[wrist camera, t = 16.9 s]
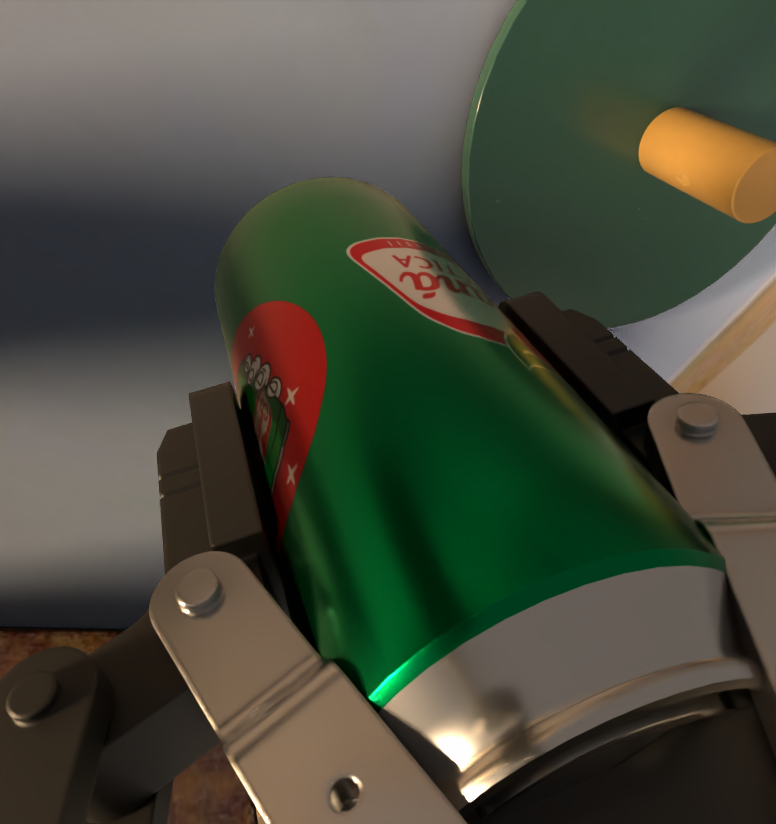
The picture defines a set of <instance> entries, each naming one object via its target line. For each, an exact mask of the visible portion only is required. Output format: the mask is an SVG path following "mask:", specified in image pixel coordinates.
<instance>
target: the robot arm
mask: <svg viewBox="0 0 776 824" xmlns="http://www.w3.org/2000/svg"><path fill="white" fill-rule="evenodd" d="M498 308H499V309H500V310H501V311H502V312H503V313H504V314H505V315H506V316H507V317H508V318H509V320H510V321H511V322H512V323H513V324H514V325H515V326H516V327H517V328H518V329H519V330H520V331H521V333H522V334H523V335H524V336H525V337H526V338H527V339H528V340H529V341H530V342H531V343H532V344H533V346H534V347H535V348H536V349H537V350H538V351H539V352H540V353H541V354H542V355H543V356H544V357H545V359H546V360H547V361H548V362H549V363H550V364H551V365H552V366H553V367H554V368H555V369H556V370H557V372H558V373H559V374H560V375H561V376H562V377H563V378H564V379H565V380H566V381H567V382H568V383H569V385H570V386H571V387H572V388H573V389H574V390H575V391H576V392H577V393H578V394H579V395H580V396H581V398H582V399H583V400H584V401H585V402H586V403H587V404H588V405H589V406H590V407H591V408H592V409H593V411H594V412H595V413H596V414H597V415H598V416H599V417H600V418H601V419H602V420H603V421H604V422H605V424H606V425H607V426H608V427H609V428H610V429H611V430H612V431H613V432H614V433H615V434H616V435H617V437H618V438H619V439H620V440H621V441H622V442H623V443H624V444H625V445H626V446H627V447H628V448H629V450H630V451H631V452H632V453H633V454H634V455H635V456H636V457H637V458H638V459H639V460H640V462H641V463H642V464H643V465H644V466H645V467H646V468H647V469H648V470H649V471H650V472H651V473H652V475H653V476H654V477H655V478H656V479H657V480H658V481H659V482H660V483H661V484H662V485H663V486H664V488H665V489H666V490H667V491H668V492H669V493H670V494H671V495H672V496H673V497H674V498H675V499H676V501H677V502H678V503H679V504H680V505H681V506H682V507H683V508H684V509H685V510H686V511H687V512H688V514H689V515H690V516H691V517H692V518H693V519H694V520H695V522H696V523H697V525H698V526H699V527H700V528H701V529H702V531H703V532H704V533H705V534H706V535H707V537H708V538H709V539H710V540H711V541H712V543H713V544H714V546H715V547H716V549H717V550H718V551H719V552H720V553H721V554H722V555H723V556H724V557H725V559H726V567H725V571H726V575H727V580H728V584H729V589H730V593H731V598H732V602H733V607H734V611H735V616H736V620H737V624H738V628H739V632H740V636H741V640H742V644H743V648H744V651H745V653H746V655H747V656H748V657H750V658H754V659H755V661H756V662H757V663H758V664H759V666H760V667H761V670H762V672H763V675H764V678H765V679H764V685H763V688H762V689H760V690H758V691H757V690H749V689H743V690H729V692H730V696H731V698H732V700H733V702H734V704H735V706H736V707H737V709H738V711H737V713H736V715H735V716H732V717H709V718H701V719H698V720H695V721H692V722H689V723H686V724H683V725H680V726H677V727H676V728H674V729H673V730H671V731H670V732H668V733H667V734H665V735H663V736H662V737H660V738H659V739H657V740H656V741H654V742H653V743H651V744H650V745H648V746H647V747H645V748H644V749H642V750H641V751H639V752H638V753H637V754H635V755H634V756H632V757H631V758H629V759H628V760H627V761H625V762H624V763H622V764H620V765H618V766H616V767H614V768H612V769H609V770H607V771H605V772H603V773H601V774H599V775H597V776H594V777H592V778H590V779H588V780H586V781H584V782H581V783H579V784H577V785H575V786H573V787H570V788H568V789H566V790H563V791H561V792H559V793H557V794H554V795H552V796H550V797H547V798H545V799H543V800H541V801H538V802H536V803H534V804H531V805H529V806H527V807H524V808H522V809H520V810H518V811H515V812H513V813H511V814H508V815H506V816H504V817H501V818H499V819H497V820H495V821H492V822H490V823H489V822H483V821H481V820H480V818H479V817H478V815H477V813H476V812H475V810H473V811H472V812H470V813H469V814H468V815H467V816H466V817H464V818H462V816H461V815H460V814H459V813H458V811H457V810H456V809H455V808H454V807H453V805H452V804H451V803H450V802H449V801H448V799H447V798H446V797H445V796H444V794H443V793H442V792H441V791H440V790H439V788H438V787H437V786H436V785H435V783H434V782H433V781H432V780H431V779H430V777H429V776H428V775H427V774H426V772H425V771H424V770H423V769H422V768H421V766H420V765H419V764H418V763H417V761H416V760H415V759H414V758H413V757H412V755H411V754H410V753H409V752H408V751H407V749H406V748H405V747H404V746H403V744H402V743H401V742H400V741H399V740H398V738H397V737H396V736H395V735H394V733H393V732H392V731H391V730H390V729H389V727H388V726H387V725H386V724H385V722H384V721H383V720H382V719H381V718H380V716H379V715H378V714H377V713H376V711H375V710H374V709H373V708H372V707H371V705H370V704H369V703H368V702H367V701H366V699H365V698H364V697H363V696H362V694H361V693H360V692H359V691H358V690H357V688H356V687H355V686H354V685H353V683H352V682H351V681H350V680H349V679H348V677H347V676H346V675H345V674H344V673H343V671H342V670H341V669H340V668H339V667H338V666H337V665H336V664H335V663H334V662H333V661H331V660H330V659H328V658H326V659H323V658H322V657H321V656H320V655H319V654H318V653H317V652H316V651H315V650H314V648H313V647H312V646H311V645H310V644H309V642H308V641H307V640H306V639H305V637H304V636H303V635H302V634H301V632H300V631H299V630H298V629H297V627H296V626H295V625H294V624H293V622H292V621H291V619H290V615H289V611H288V607H287V602H286V598H285V594H284V590H283V586H282V581H281V577H280V573H279V568H278V564H277V559H276V555H275V551H274V547H273V543H272V538H271V534H270V530H269V526H268V522H267V517H266V513H265V509H264V505H263V501H262V496H261V492H260V488H259V484H258V479H257V475H256V471H255V467H254V463H253V458H252V454H251V450H250V446H249V442H248V437H247V433H246V429H245V425H244V421H243V416H242V412H241V408H240V406H239V403H238V400H237V397H236V395H235V392H234V390H233V387H232V385H231V383H230V382H227V383H223V384H220V385H216V386H213V387H210V388H206V389H203V390H200V391H196V392H193V393H189V401H190V408H191V416H192V423H190V424H186V425H183V426H180V427H176V428H173V429H170V430H168V431H167V433H166V435H165V437H164V439H163V441H162V444H161V446H160V448H159V450H158V452H157V463H158V476H159V479H160V480H159V492H160V497H161V499H160V506H161V521H162V536H163V550H164V565H165V575H164V576H163V578H162V579H161V580H160V581H159V583H158V584H157V586H156V588H155V589H154V592H153V594H152V596H151V600H150V604H149V609H148V610H147V611H146V613H145V614H144V615H143V616H142V617H141V618H140V619H139V620H138V621H137V622H135V623H134V624H133V625H132V626H130V627H129V628H128V629H126V630H125V631H123V632H122V633H120V634H119V635H117V636H116V637H114V638H113V639H111V640H110V641H108V642H107V643H105V644H104V645H102V646H101V647H99V648H98V649H96V650H95V651H93V652H92V653H90V654H88V655H87V654H86V653H84V652H83V651H81V650H80V649H77V648H74V647H66V646H61V647H53V648H48V649H45V650H42V651H40V652H37V653H35V654H33V655H31V656H29V657H27V658H25V659H24V660H22V661H21V662H19V663H18V664H17V665H15V666H14V667H13V668H12V669H11V670H9V671H8V672H7V673H6V674H5V675H4V676H3V677H2V678H1V679H0V824H167V822H168V815H169V808H170V801H171V794H172V788H173V781H174V778H175V777H176V776H178V775H179V774H180V773H182V772H183V771H184V770H185V769H187V768H188V767H189V766H191V765H192V764H193V763H194V762H196V761H197V760H198V759H199V758H201V757H202V756H203V755H205V754H206V753H207V752H208V751H210V750H211V749H212V748H213V747H215V746H216V745H217V744H219V743H220V742H221V746H222V748H223V750H224V752H225V754H226V756H227V758H228V760H229V761H230V763H231V765H232V767H233V768H234V770H235V772H236V773H237V775H238V777H239V779H240V780H241V782H242V784H243V785H244V787H245V789H246V790H247V792H248V794H249V796H250V797H251V799H252V801H253V802H254V804H255V806H256V807H257V809H258V811H259V813H260V814H261V816H262V818H263V819H264V821H265V823H266V824H776V413H764V414H750V415H741V414H740V413H739V412H738V411H737V410H736V409H734V408H733V407H732V406H730V405H729V404H727V403H725V402H723V401H721V400H719V399H717V398H714V397H711V396H707V395H702V394H695V393H680V394H679V393H678V392H677V391H676V390H675V389H674V388H673V387H671V386H670V385H669V384H668V383H667V382H666V381H665V380H664V379H663V378H661V377H660V376H659V375H658V374H657V373H656V372H655V371H654V370H652V369H651V368H650V367H649V366H648V365H647V364H646V363H645V362H643V361H642V360H641V359H640V358H639V357H638V356H637V355H636V354H634V353H633V352H632V351H631V350H629V351H628V350H627V346H626V345H624V344H623V343H622V342H621V341H620V340H619V339H618V338H617V337H616V338H614V337H613V334H612V333H611V332H610V331H609V330H608V329H606V328H605V327H604V326H603V325H602V324H601V323H600V322H599V321H597V320H596V319H595V318H592V317H590V316H587V315H585V314H583V313H580V312H578V311H576V310H573V309H568V310H565V311H561V310H560V309H559V308H558V307H557V306H556V305H555V304H554V303H553V302H552V301H551V300H550V299H549V298H547V297H546V296H545V295H544V294H543V293H542V292H540V291H536V292H533V293H530V294H526V295H523V296H519V297H516V298H513V299H509V300H506V301H503V302H501V303H500V304H499V306H498ZM353 799H359V800H358V802H357V804H356V805H355V806H354V807H353V808H352V809H351V810H350V808H349V806H348V804H347V802H348V801H350V800H353Z"/></svg>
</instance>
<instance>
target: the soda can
mask: <svg viewBox="0 0 776 824" xmlns="http://www.w3.org/2000/svg"><path fill="white" fill-rule="evenodd" d="M215 300H216V306H217V312H218V316H219V320H220V324H221V328H222V333H223V337H224V341H225V345H226V350H227V354H228V358H229V362H230V366H231V371H232V375H233V379H234V383H235V387H236V392H237V396H238V400H239V404H240V408H241V412H242V416H243V421H244V425H245V429H246V433H247V437H248V442H249V446H250V450H251V454H252V458H253V463H254V467H255V471H256V475H257V479H258V484H259V488H260V492H261V496H262V501H263V505H264V509H265V513H266V517H267V522H268V526H269V530H270V534H271V538H272V543H273V547H274V551H275V555H276V559H277V564H278V568H279V573H280V577H281V581H282V586H283V590H284V594H285V598H286V602H287V607H288V611H289V615H290V619H291V621H292V622H293V624H294V625H295V626H296V627H297V629H298V630H299V631H300V632H301V634H302V635H303V636H304V637H305V639H306V640H307V641H308V642H309V644H310V645H311V646H312V647H313V648H314V650H315V651H316V652H317V653H318V654H319V655H320V656H321V657H322V658H323V659H326V658H328V659H330V660H331V661H333V662H334V663H335V664H336V665H337V666H338V667H339V668H340V669H341V670H342V671H343V673H344V674H345V675H346V676H347V677H348V679H349V680H350V681H351V682H352V683H353V685H354V686H355V687H356V688H357V690H358V691H359V692H360V693H361V694H362V696H363V697H364V698H365V699H366V701H367V702H368V703H369V704H370V705H371V707H372V708H373V709H374V710H375V711H376V713H377V714H378V715H379V716H380V718H381V719H382V720H383V721H384V722H385V724H386V725H387V726H388V727H389V729H390V730H391V731H392V732H393V733H394V735H395V736H396V737H397V738H398V740H399V741H400V742H401V743H402V744H403V746H404V747H405V748H406V749H407V751H408V752H409V753H410V754H411V755H412V757H413V758H414V759H415V760H416V761H417V763H418V764H419V765H420V766H421V768H422V769H423V770H424V771H425V772H426V774H427V775H428V776H429V777H430V779H431V780H432V781H433V782H434V783H435V785H436V786H437V787H438V788H439V790H440V791H441V792H442V793H443V794H444V796H445V797H446V798H447V799H448V801H449V802H450V803H451V804H452V805H453V807H454V808H455V809H456V810H457V811H458V813H459V814H460V815H461V816H462V818H464V817H466V816H467V815H468V814H469V813H470V812H472V811H473V810H475V812H476V813H477V815H478V817H479V818H480V820H481V821H483V822H489V823H490V822H492V821H495V820H497V819H499V818H501V817H504V816H506V815H508V814H511V813H513V812H515V811H518V810H520V809H522V808H524V807H527V806H529V805H531V804H534V803H536V802H538V801H541V800H543V799H545V798H547V797H550V796H552V795H554V794H557V793H559V792H561V791H563V790H566V789H568V788H570V787H573V786H575V785H577V784H579V783H581V782H584V781H586V780H588V779H590V778H592V777H594V776H597V775H599V774H601V773H603V772H605V771H607V770H609V769H612V768H614V767H616V766H618V765H620V764H622V763H624V762H625V761H627V760H628V759H629V758H631V757H632V756H634V755H635V754H637V753H638V752H639V751H641V750H642V749H644V748H645V747H647V746H648V745H650V744H651V743H653V742H654V741H656V740H657V739H659V738H660V737H662V736H663V735H665V734H667V733H668V732H670V731H671V730H673V729H674V728H676V727H677V726H680V725H683V724H686V723H689V722H692V721H695V720H698V719H701V718H709V717H732V716H735V715H736V713H737V711H738V709H737V707H736V706H735V704H734V702H733V700H732V698H731V696H730V692H729V690H743V689H749V690H757V691H758V690H760V689H762V688H763V685H764V679H765V678H764V675H763V672H762V670H761V667H760V666H759V664H758V663H757V662H756V661H755V659H754V658H750V657H748V656H747V655H746V653H745V651H744V648H743V644H742V640H741V636H740V632H739V628H738V624H737V620H736V616H735V611H734V607H733V602H732V598H731V593H730V589H729V584H728V580H727V575H726V571H725V567H726V559H725V557H724V556H723V555H722V554H721V553H720V552H719V551H718V550H717V549H716V547H715V546H714V544H713V543H712V541H711V540H710V539H709V538H708V537H707V535H706V534H705V533H704V532H703V531H702V529H701V528H700V527H699V526H698V525H697V523H696V522H695V520H694V519H693V518H692V517H691V516H690V515H689V514H688V512H687V511H686V510H685V509H684V508H683V507H682V506H681V505H680V504H679V503H678V502H677V501H676V499H675V498H674V497H673V496H672V495H671V494H670V493H669V492H668V491H667V490H666V489H665V488H664V486H663V485H662V484H661V483H660V482H659V481H658V480H657V479H656V478H655V477H654V476H653V475H652V473H651V472H650V471H649V470H648V469H647V468H646V467H645V466H644V465H643V464H642V463H641V462H640V460H639V459H638V458H637V457H636V456H635V455H634V454H633V453H632V452H631V451H630V450H629V448H628V447H627V446H626V445H625V444H624V443H623V442H622V441H621V440H620V439H619V438H618V437H617V435H616V434H615V433H614V432H613V431H612V430H611V429H610V428H609V427H608V426H607V425H606V424H605V422H604V421H603V420H602V419H601V418H600V417H599V416H598V415H597V414H596V413H595V412H594V411H593V409H592V408H591V407H590V406H589V405H588V404H587V403H586V402H585V401H584V400H583V399H582V398H581V396H580V395H579V394H578V393H577V392H576V391H575V390H574V389H573V388H572V387H571V386H570V385H569V383H568V382H567V381H566V380H565V379H564V378H563V377H562V376H561V375H560V374H559V373H558V372H557V370H556V369H555V368H554V367H553V366H552V365H551V364H550V363H549V362H548V361H547V360H546V359H545V357H544V356H543V355H542V354H541V353H540V352H539V351H538V350H537V349H536V348H535V347H534V346H533V344H532V343H531V342H530V341H529V340H528V339H527V338H526V337H525V336H524V335H523V334H522V333H521V331H520V330H519V329H518V328H517V327H516V326H515V325H514V324H513V323H512V322H511V321H510V320H509V318H508V317H507V316H506V315H505V314H504V313H503V312H502V311H501V310H500V309H499V308H498V307H497V305H496V304H495V303H494V302H493V301H492V300H491V299H490V298H489V297H488V296H487V295H486V294H485V292H484V291H483V290H482V289H481V288H480V287H479V286H478V285H477V284H476V283H475V282H474V280H473V279H472V278H471V277H470V276H469V275H468V274H467V273H466V272H465V271H464V270H463V269H462V267H461V266H460V265H459V264H458V263H457V262H456V261H455V260H454V259H453V258H452V257H451V256H450V254H449V253H448V252H447V251H446V250H445V249H444V248H443V247H442V246H441V245H440V244H439V243H438V241H437V240H436V239H435V238H434V237H433V236H432V235H431V234H430V233H429V232H428V231H427V230H426V228H425V227H424V226H423V225H422V224H421V223H420V222H419V221H418V220H417V219H416V218H415V217H414V215H413V214H412V213H411V212H410V211H409V210H408V209H407V208H406V207H405V206H404V205H403V204H402V203H401V202H400V201H399V200H398V199H397V198H395V197H394V196H392V195H391V194H389V193H388V192H386V191H385V190H383V189H381V188H379V187H376V186H374V185H372V184H369V183H367V182H363V181H359V180H355V179H351V178H342V177H323V178H312V179H308V180H304V181H301V182H297V183H293V184H291V185H289V186H286V187H284V188H282V189H279V190H277V191H275V192H274V193H272V194H270V195H269V196H267V197H266V198H264V199H263V200H261V201H260V202H258V203H257V204H256V205H255V206H254V207H253V208H252V209H251V210H249V211H248V212H247V213H246V214H245V215H244V216H243V218H242V219H241V220H240V221H239V222H238V224H237V225H236V226H235V227H234V229H233V230H232V232H231V234H230V235H229V237H228V239H227V241H226V242H225V244H224V247H223V249H222V252H221V255H220V257H219V260H218V264H217V269H216V275H215ZM358 800H359V799H353V800H350V801H348V802H347V804H348V806H349V808H350V810H351V809H352V808H353V807H354V806H355V805H356V804H357V802H358Z"/></svg>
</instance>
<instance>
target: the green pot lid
mask: <svg viewBox="0 0 776 824" xmlns="http://www.w3.org/2000/svg"><path fill="white" fill-rule="evenodd" d="M462 192H463V202H464V211H465V215H466V220H467V224H468V228H469V233H470V236H471V239H472V241H473V244H474V246H475V249H476V251H477V254H478V256H479V258H480V260H481V261H482V263H483V265H484V267H485V268H486V270H487V272H488V273H489V275H490V276H491V277H492V279H493V280H494V281H495V282H496V283H497V285H498V286H499V287H500V288H501V289H502V291H503V292H504V293H505V294H506V295H507V296H508V297H510V298H511V299H513V298H516V297H519V296H523V295H526V294H530V293H533V292H536V291H540V292H542V293H543V294H544V295H545V296H546V297H547V298H549V299H550V300H551V301H552V302H553V303H554V304H555V305H556V306H557V307H558V308H559V309H560V310H561V311H565V310H568V309H573V310H576V311H578V312H580V313H583V314H585V315H587V316H590V317H592V318H595V319H596V320H597V321H599V322H600V323H601V324H602V325H603V326H604V327H605V328H608V327H617V326H621V325H626V324H630V323H635V322H638V321H641V320H644V319H647V318H650V317H653V316H656V315H658V314H660V313H662V312H665V311H667V310H669V309H671V308H673V307H676V306H677V305H679V304H681V303H683V302H684V301H686V300H688V299H690V298H691V297H693V296H695V295H697V294H698V293H700V292H701V291H702V290H704V289H705V288H707V287H708V286H710V285H711V284H713V283H714V282H715V281H717V280H718V279H719V278H721V277H722V276H723V275H724V274H725V273H727V272H728V271H729V270H730V269H732V268H733V267H734V266H735V265H736V264H737V263H739V262H740V261H741V260H742V259H743V258H744V257H745V256H746V255H747V254H748V253H749V252H750V251H751V250H752V249H753V248H754V247H755V246H756V245H757V244H758V243H759V242H760V241H761V240H762V239H763V237H764V236H765V235H766V234H767V233H768V232H769V231H770V230H771V229H772V228H773V226H774V225H775V224H776V0H517V1H516V2H515V4H514V6H513V7H512V9H511V10H510V12H509V14H508V15H507V17H506V18H505V20H504V22H503V24H502V26H501V29H500V31H499V33H498V35H497V37H496V39H495V41H494V43H493V45H492V47H491V49H490V51H489V53H488V56H487V58H486V61H485V64H484V66H483V69H482V72H481V74H480V77H479V80H478V82H477V85H476V88H475V92H474V96H473V100H472V104H471V107H470V111H469V115H468V119H467V125H466V132H465V139H464V145H463V153H462Z"/></svg>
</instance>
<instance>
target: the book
mask: <svg viewBox="0 0 776 824" xmlns="http://www.w3.org/2000/svg"><path fill="white" fill-rule="evenodd" d="M122 632H123V631H117V630H70V629H23V628H0V679H1V678H2V677H3V676H4V675H5V674H6V673H7V672H8V671H9V670H11V669H12V668H13V667H14V666H15V665H17V664H18V663H19V662H21V661H22V660H24V659H25V658H27V657H29V656H31V655H33V654H35V653H37V652H40V651H42V650H45V649H48V648H53V647H61V646H66V647H74V648H77V649H80V650H81V651H83V652H84V653H86V654H87V655H88V654H90V653H92V652H93V651H95V650H96V649H98V648H99V647H101V646H102V645H104V644H105V643H107V642H108V641H110V640H111V639H113V638H114V637H116V636H117V635H119V634H120V633H122ZM167 824H258V821H257V814H256V806H255V804H254V802H253V801H252V799H251V797H250V796H249V794H248V792H247V790H246V789H245V787H244V785H243V784H242V782H241V780H240V779H239V777H238V775H237V773H236V772H235V770H234V768H233V767H232V765H231V763H230V761H229V760H228V758H227V756H226V754H225V752H224V750H223V748H222V746H221V742H220V743H219V744H217V745H216V746H215V747H213V748H212V749H211V750H210V751H208V752H207V753H206V754H205V755H203V756H202V757H201V758H199V759H198V760H197V761H196V762H194V763H193V764H192V765H191V766H189V767H188V768H187V769H185V770H184V771H183V772H182V773H180V774H179V775H178V776H176V777H175V778H174V781H173V788H172V794H171V801H170V808H169V815H168V822H167Z"/></svg>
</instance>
